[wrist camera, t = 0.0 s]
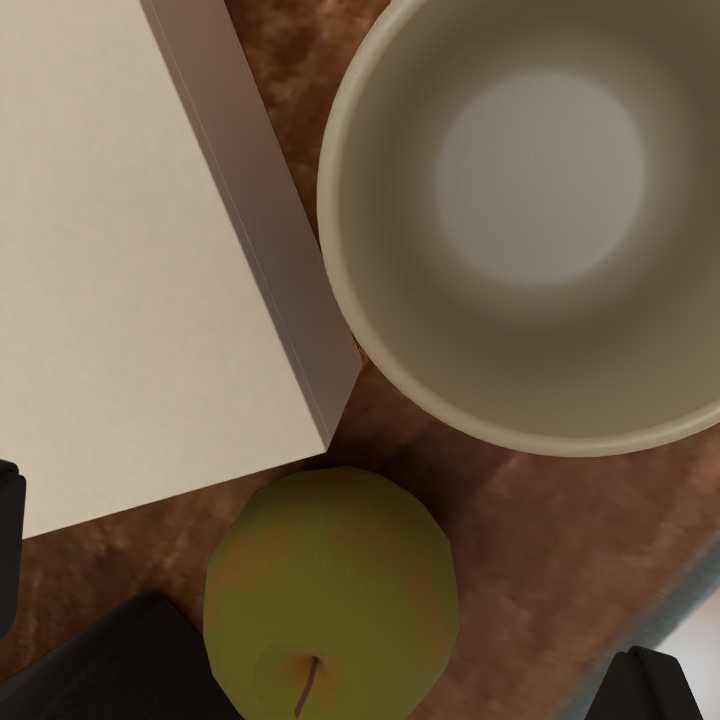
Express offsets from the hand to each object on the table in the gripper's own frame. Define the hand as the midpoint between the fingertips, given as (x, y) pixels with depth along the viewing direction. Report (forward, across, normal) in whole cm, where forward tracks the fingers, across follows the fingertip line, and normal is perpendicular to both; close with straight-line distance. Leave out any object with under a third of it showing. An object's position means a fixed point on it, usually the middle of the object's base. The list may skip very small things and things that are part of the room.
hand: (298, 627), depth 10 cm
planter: (+19, -4, -7) cm, 20 cm away
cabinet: (+18, +10, -1) cm, 21 cm away
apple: (+19, 0, +10) cm, 21 cm away
